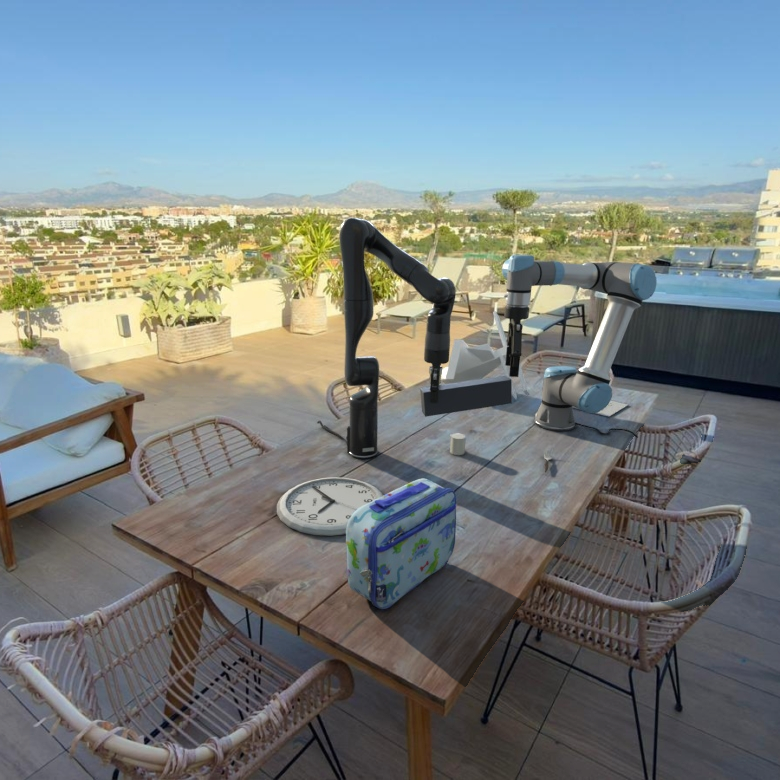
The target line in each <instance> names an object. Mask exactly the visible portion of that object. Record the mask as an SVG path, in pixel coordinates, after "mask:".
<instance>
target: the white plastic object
mask: <svg viewBox="0 0 780 780" xmlns="http://www.w3.org/2000/svg"><path fill="white" fill-rule="evenodd" d="M492 315H493V319H494V321H495V324H496V325H495V326H496V328H497V332H498V335H499V338H500V342H501V345H502V347H500V348H498V349H496V350H495V349H493V348H492V347H491V346H490V344H489V343H488V342H487V343H483V344H479V345H473V346H469V345H468V343H466V342H465V340H464V339H463V338H460V339H458V338H454V340H453V344H452V349H451V353H450V356H449V361H448V366H446V367H444V368H442V375H441V382H442V383H443V385H444V384H451V383H458V382H465V381H472V380H479V379H484V378H485V377H486V376H487V375H489V374H490V373H492V372H494V371H495V370H496V369H497V368H499V367H500V366H502V370H503V373H504V376H507V377H509V372H510V367H509V366H505V363H506V351H507V342H506V341H507V336H506V334H505V331H504V328H503V325H502V321H501V318H500V315H499V314H498V312H497V311H496V310H495V311H492ZM522 368H523V367H522V366H521V362H520V363H519V374H518V380H519V382H520V385H521V389H522V391H523V393H524V395H525V396H526V397H528V396H531V395H530V390H529V388H528V387H529V386H528V384H527V381H526V378H525V375H524V371H523V369H522ZM509 378H510V379H511V384H512V397H513V398H514V399H515V400H517V392H516V391H517V390H516V388H515V385H514V381H513V377H509Z"/></svg>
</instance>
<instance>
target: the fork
mask: <svg viewBox="0 0 780 780" xmlns="http://www.w3.org/2000/svg"><path fill="white" fill-rule="evenodd" d="M553 451H554V450H553V448H552V451H551V449H549V451H547V450H545V452H544V455H543V459H545V460H546V461H545V463H544V473H547V470H548V468H549V461H551V460H553Z"/></svg>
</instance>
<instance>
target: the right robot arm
mask: <svg viewBox="0 0 780 780" xmlns="http://www.w3.org/2000/svg"><path fill="white" fill-rule="evenodd" d="M501 273H502V276H503V278H504V279H505V280H506V293H505V294H504V295H503V297H504V298H505V304H506V306H504V314H503V315H504V318H506V319H508V320H509V323H508V329H507V336H506V340H507V341H506V342H507V351H506V363H505V366H508V367H509V371H510V372H509V377H511V378H519V376H518V374H519V363H520V364H521V357H522V355H523V353H522V340H523V327H524V326H523V324H522V322H521V321H522V320H528V319H529V316H530V305H531V298H532V287H535V286H537V287H538V286H540V287H541V286H542V287H543V286H550V287H552V286H556V285H561V286H573V287H579V288H580V289H583V290H589V291H594V292H598V293H603V294H604V295H606V298H607V299H606V300H607V301H608V304H607V306H606V310H605V312H604V315H603V317H602V319H601V322H600V325H599V327H598V330H597V333H596V334H595V337H594V339H593V342H592V345H591V347H590V350H589V353H588V355H587V358H586V360H585V363H584V365H583V366H582V367H580V368H578V369H577V367H574V366H566V365H565V366H564V365H559V366H558V365H557V366H550V367H547V368H546V369H545V370H544V375H543V381H542V392H541V402H540V405H539V407H538V410H537V411H536V413H535V414H534V416H535V417H534V424H535V425H536V426H537V427H539V428H542V429H544V430H549V431H556V432H567V431H572V430H574V429H575V428H576V426H580V427H583V428H586V429H591V430H594V431H596V432H598V433H599V434H600V435H601V436H608V435H610V434H611V431H621V432H627V433H629V434H631V435H633V436H634V437H635V438H637V439H638V438H639V436H638V435H637V434H636V433H635V432H633V431H632V430H630V429H627V428H617V427H616V428H615V427H614V428H611V427H610V428H609V429H608V430H607V432H602V431H601V430H600V429H599V428H597V427H593V426H590V425H586V424H582V423H579V422H576V418H575V417H576V416H575V413H574V407H576V408H578V409H577V410H580V411H582V412H586V413H589V414H596V413H597V412H600V411H601V410H603V409H604V408H605V407H606V406H607V405H608V404H609V402H610V401H612V398H613V388H612V386H611V385H610V383H611V377H610V375H609V373H610V371H611V369H612V365H613V363H614V360H615V358H616V356H617V353H618V351H619V348H620V345H621V343H622V341H623V338H624V336H625V333H626V331H627V329H628V325H629V323H630V321H631V319H632V316H633V313H634V310H636V309H639V308H640V307H641V306H642V303H643V301H646V300H649V299H650V298H651V297H652V296H653V295H654V294H655V292H656V289H657V284H658V283H657V281H658V280H657V276H656V272H655V270H654V269H653V268H652V266H651V265H650V266H649V265H648V264H644V263H643V264H642V263H639V262H635V263H631V262H619V261H604V262H603V261H602V262H589V261H588V262H585V263H583V264H580V263H569V262H560V261H557V260H535V257H534V255H530V254H512V255H511V256H509V258H508V259H506V260H505V261H504V263H503V265H502V268H501ZM576 408H575V409H576Z"/></svg>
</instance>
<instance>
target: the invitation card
mask: <svg viewBox="0 0 780 780" xmlns="http://www.w3.org/2000/svg"><path fill="white" fill-rule="evenodd" d="M628 406H629V404H627V403H623V402H618V401H614V400H610V402H609V404H608V405H607V406H606V407H605V408H604V409H603V410H601V411H600V412H597V413H595V414H596V415H600V416H604V417H608V418H609V417H611V416H613V415H614V414H616V413H617V412H619V411H621V410H623V409H624V408H626V407H628ZM573 409H575V410H579V409H578V408H576V407H573Z"/></svg>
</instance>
